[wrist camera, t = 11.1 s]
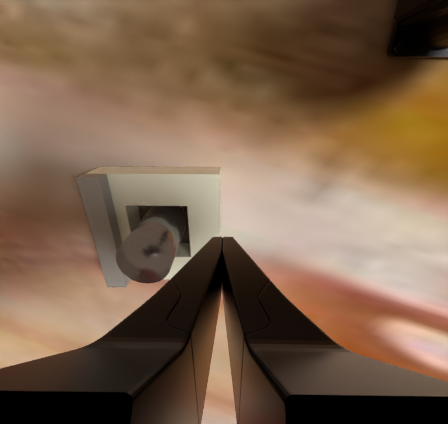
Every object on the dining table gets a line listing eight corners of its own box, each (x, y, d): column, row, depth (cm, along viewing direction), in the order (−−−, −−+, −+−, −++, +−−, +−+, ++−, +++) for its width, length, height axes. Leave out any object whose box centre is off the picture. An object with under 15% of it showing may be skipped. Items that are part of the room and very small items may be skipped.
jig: (220, 167, 20) (218, 178, 16) (220, 264, 24) (219, 288, 21) (100, 166, 20) (75, 177, 17) (123, 263, 25) (107, 287, 21)
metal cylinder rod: (188, 236, 23) (173, 283, 17) (150, 235, 23) (121, 282, 17) (185, 201, 21) (167, 239, 15) (145, 200, 21) (110, 238, 15)
